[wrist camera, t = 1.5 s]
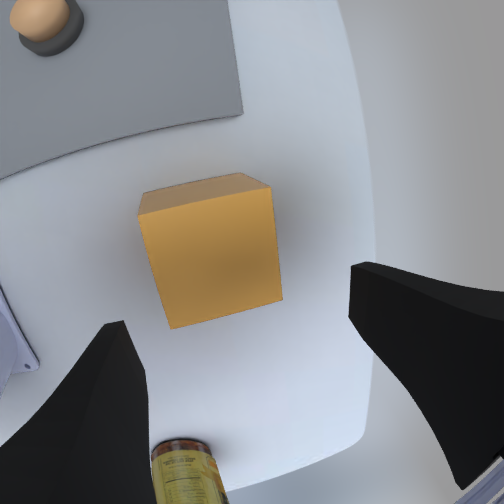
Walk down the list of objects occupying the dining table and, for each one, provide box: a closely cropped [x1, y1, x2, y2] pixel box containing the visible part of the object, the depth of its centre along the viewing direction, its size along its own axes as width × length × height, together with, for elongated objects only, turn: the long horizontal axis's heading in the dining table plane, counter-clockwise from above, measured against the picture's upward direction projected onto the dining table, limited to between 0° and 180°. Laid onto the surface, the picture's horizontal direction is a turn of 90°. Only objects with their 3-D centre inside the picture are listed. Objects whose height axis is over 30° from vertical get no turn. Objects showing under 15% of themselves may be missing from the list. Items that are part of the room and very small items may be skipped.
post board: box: [0, 0, 244, 180], centre depth 9 cm, size 18×14×5 cm
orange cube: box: [138, 173, 283, 329], centre depth 15 cm, size 6×6×5 cm
